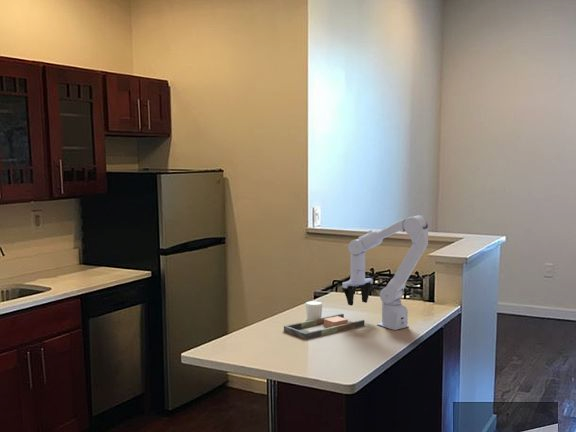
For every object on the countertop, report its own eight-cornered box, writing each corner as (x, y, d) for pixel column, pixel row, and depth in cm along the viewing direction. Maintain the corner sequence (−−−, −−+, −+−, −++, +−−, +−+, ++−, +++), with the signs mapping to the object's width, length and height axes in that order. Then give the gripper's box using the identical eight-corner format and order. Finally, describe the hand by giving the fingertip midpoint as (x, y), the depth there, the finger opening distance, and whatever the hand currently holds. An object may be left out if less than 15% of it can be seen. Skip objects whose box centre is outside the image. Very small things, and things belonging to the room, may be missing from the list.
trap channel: (364, 325, 234) (364, 320, 234) (305, 339, 217) (305, 333, 216) (342, 318, 244) (342, 313, 244) (283, 331, 227) (283, 326, 227)
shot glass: (321, 322, 239) (321, 305, 238) (304, 321, 240) (303, 304, 239) (323, 318, 245) (323, 301, 245) (307, 317, 247) (306, 300, 246)
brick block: (347, 327, 233) (347, 319, 233) (333, 330, 229) (333, 322, 229) (337, 323, 238) (337, 316, 238) (323, 326, 234) (323, 318, 234)
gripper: (364, 266, 246) (363, 299, 247) (337, 270, 237) (337, 304, 239) (376, 268, 240) (376, 302, 242) (349, 273, 232) (349, 307, 233)
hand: (357, 303), depth 240 cm, fingers open, 7 cm apart
